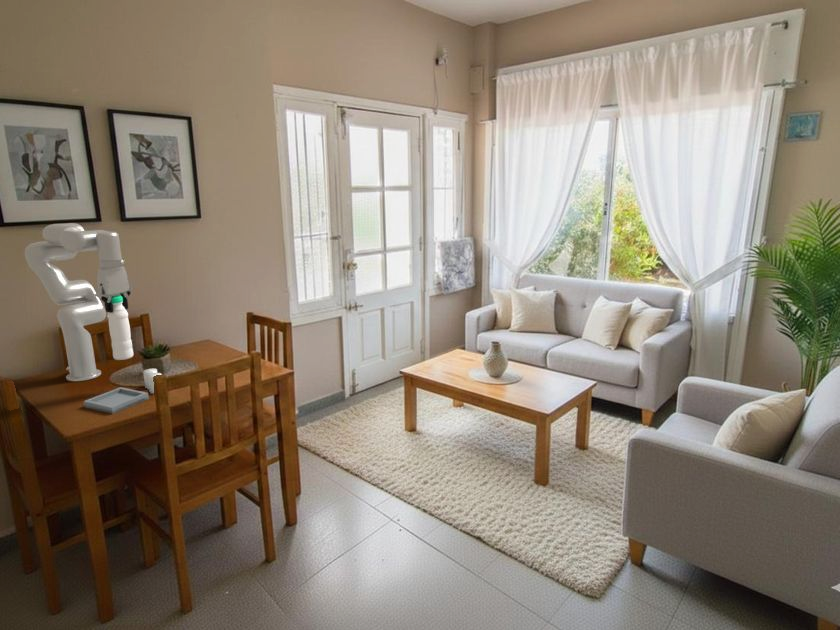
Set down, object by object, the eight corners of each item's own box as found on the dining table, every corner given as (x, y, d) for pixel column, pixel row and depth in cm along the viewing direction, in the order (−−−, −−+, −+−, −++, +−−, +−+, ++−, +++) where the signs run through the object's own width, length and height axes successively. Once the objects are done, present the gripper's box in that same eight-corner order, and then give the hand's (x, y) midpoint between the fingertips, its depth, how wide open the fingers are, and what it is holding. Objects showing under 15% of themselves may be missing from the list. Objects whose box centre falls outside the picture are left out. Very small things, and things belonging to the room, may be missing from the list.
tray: (84, 407, 189) (83, 401, 189) (121, 392, 203) (120, 387, 202) (112, 413, 183) (111, 407, 183) (148, 398, 197) (148, 392, 196)
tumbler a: (146, 392, 203) (144, 376, 201) (157, 388, 207) (155, 372, 206) (155, 394, 201) (153, 377, 199) (166, 390, 205) (164, 373, 204)
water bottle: (124, 361, 200) (116, 298, 194) (109, 359, 202) (100, 297, 195) (137, 355, 207) (129, 295, 201) (122, 354, 208) (114, 294, 202)
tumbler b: (142, 387, 208) (140, 371, 206) (153, 383, 212) (150, 367, 210) (151, 389, 206) (149, 373, 204) (161, 385, 210) (159, 369, 209)
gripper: (124, 261, 204) (130, 305, 209) (82, 266, 189) (89, 314, 193) (138, 262, 202) (143, 306, 206) (96, 268, 186) (103, 316, 191)
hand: (117, 309), depth 200 cm, fingers closed on water bottle, 5 cm apart
